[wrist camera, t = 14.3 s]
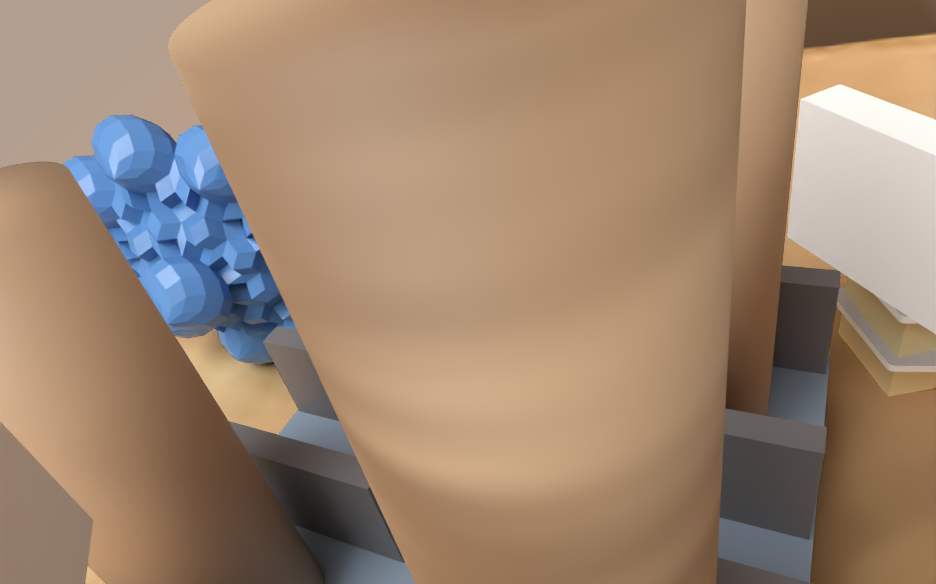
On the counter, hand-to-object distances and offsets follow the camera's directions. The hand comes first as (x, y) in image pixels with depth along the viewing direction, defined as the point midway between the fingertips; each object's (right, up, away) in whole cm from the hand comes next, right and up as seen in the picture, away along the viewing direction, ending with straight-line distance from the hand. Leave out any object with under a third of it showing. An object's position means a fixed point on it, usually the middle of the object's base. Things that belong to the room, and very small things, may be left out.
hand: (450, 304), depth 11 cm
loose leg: (+3, -10, +4) cm, 11 cm away
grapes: (-9, -4, +19) cm, 22 cm away
